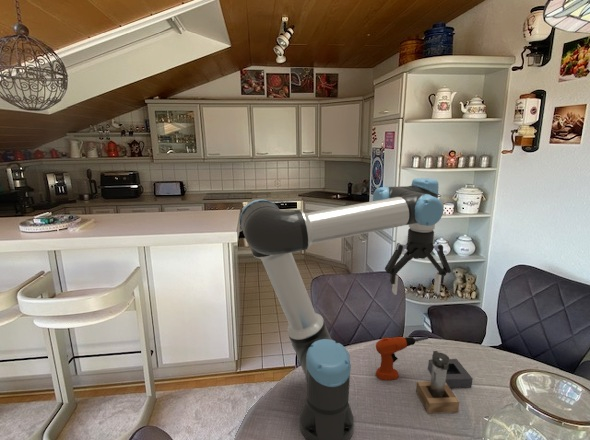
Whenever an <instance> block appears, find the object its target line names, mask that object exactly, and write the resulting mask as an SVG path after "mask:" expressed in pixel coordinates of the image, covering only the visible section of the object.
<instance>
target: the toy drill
mask: <svg viewBox="0 0 590 440" xmlns="http://www.w3.org/2000/svg"><path fill="white" fill-rule="evenodd" d="M428 339H429V337H428V336H422V337H413V336H409V337H405V336H404V337H403V336H396V337H383V338H381V339H378V341H377V342H376V343H375V350H376V351H377V353H378V354H380V361H381V362H380V365H379V367H378V368H376V371H375V376H376V378H377V379H379V380H381V381H394V380H398V378H399V377H400V374H399V371H398V370H397V369H396V368H394V363H395V362H396V361H397V360H398V357H397V356H396V354H395V353H397V352H400V351H402V350H405V349H407V347H410V346H413V345H415V344H416V342H421V341H425V340H426V341H427V340H428Z"/></svg>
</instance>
